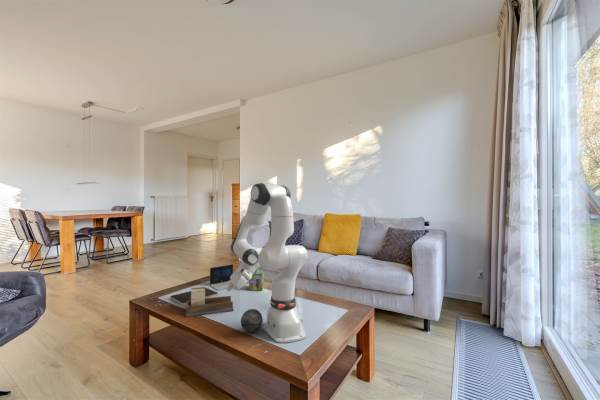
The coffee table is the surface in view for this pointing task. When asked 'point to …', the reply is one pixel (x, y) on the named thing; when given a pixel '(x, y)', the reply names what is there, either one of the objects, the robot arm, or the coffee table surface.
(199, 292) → the block
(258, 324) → the decorative stone
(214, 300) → the chute
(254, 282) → the chalk box
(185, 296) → the hardcover book
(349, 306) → the coffee table surface
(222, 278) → the laptop
